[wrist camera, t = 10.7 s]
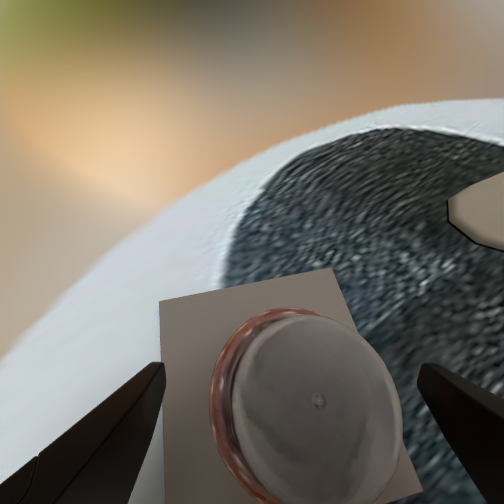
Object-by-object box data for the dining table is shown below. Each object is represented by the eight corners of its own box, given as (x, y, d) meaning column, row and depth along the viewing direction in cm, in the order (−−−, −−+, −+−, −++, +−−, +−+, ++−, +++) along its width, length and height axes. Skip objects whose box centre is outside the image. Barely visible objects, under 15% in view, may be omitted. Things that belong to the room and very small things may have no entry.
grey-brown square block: (417, 487, 13) (423, 491, 13) (170, 569, 12) (168, 577, 11) (329, 269, 20) (331, 267, 19) (161, 303, 18) (159, 301, 18)
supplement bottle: (322, 350, 16) (442, 309, 6) (311, 458, 14) (492, 675, 4) (240, 328, 17) (232, 258, 7) (213, 427, 14) (139, 543, 4)
